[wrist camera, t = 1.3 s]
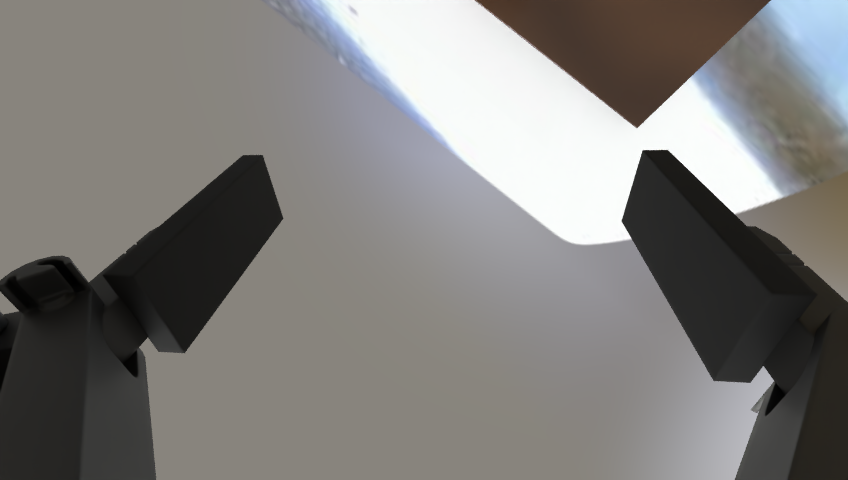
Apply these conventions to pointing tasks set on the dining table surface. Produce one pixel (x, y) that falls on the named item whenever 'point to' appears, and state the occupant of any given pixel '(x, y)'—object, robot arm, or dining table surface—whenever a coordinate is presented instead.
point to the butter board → (627, 42)
